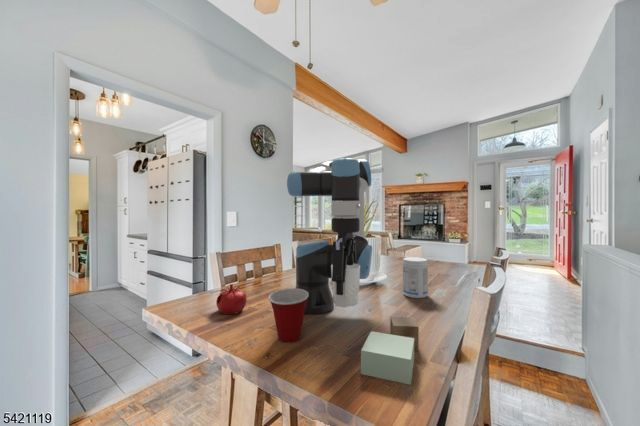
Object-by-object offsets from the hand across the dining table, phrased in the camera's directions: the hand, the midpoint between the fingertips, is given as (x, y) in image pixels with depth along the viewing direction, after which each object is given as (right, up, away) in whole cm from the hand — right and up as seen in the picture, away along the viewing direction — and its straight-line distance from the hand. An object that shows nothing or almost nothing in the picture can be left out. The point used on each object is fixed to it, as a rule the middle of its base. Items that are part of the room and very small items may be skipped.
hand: (345, 301), depth 77 cm
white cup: (0, -1, 0) cm, 1 cm away
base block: (+8, -10, -15) cm, 20 cm away
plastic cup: (-15, -10, -1) cm, 18 cm away
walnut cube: (+15, -10, -4) cm, 18 cm away
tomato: (-37, -10, +20) cm, 43 cm away
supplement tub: (+31, -10, +37) cm, 50 cm away
